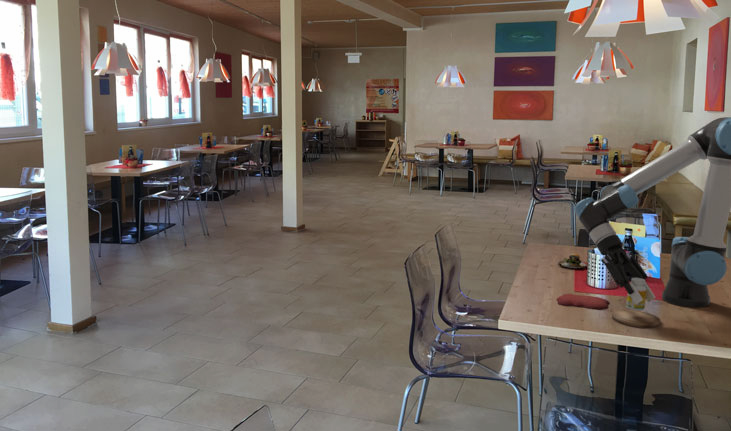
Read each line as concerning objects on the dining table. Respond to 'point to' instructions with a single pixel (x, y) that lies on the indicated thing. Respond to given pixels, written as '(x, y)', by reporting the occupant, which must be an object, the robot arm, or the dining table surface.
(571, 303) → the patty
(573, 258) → the burger
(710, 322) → the dining table surface
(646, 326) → the plate
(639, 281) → the supplement bottle
